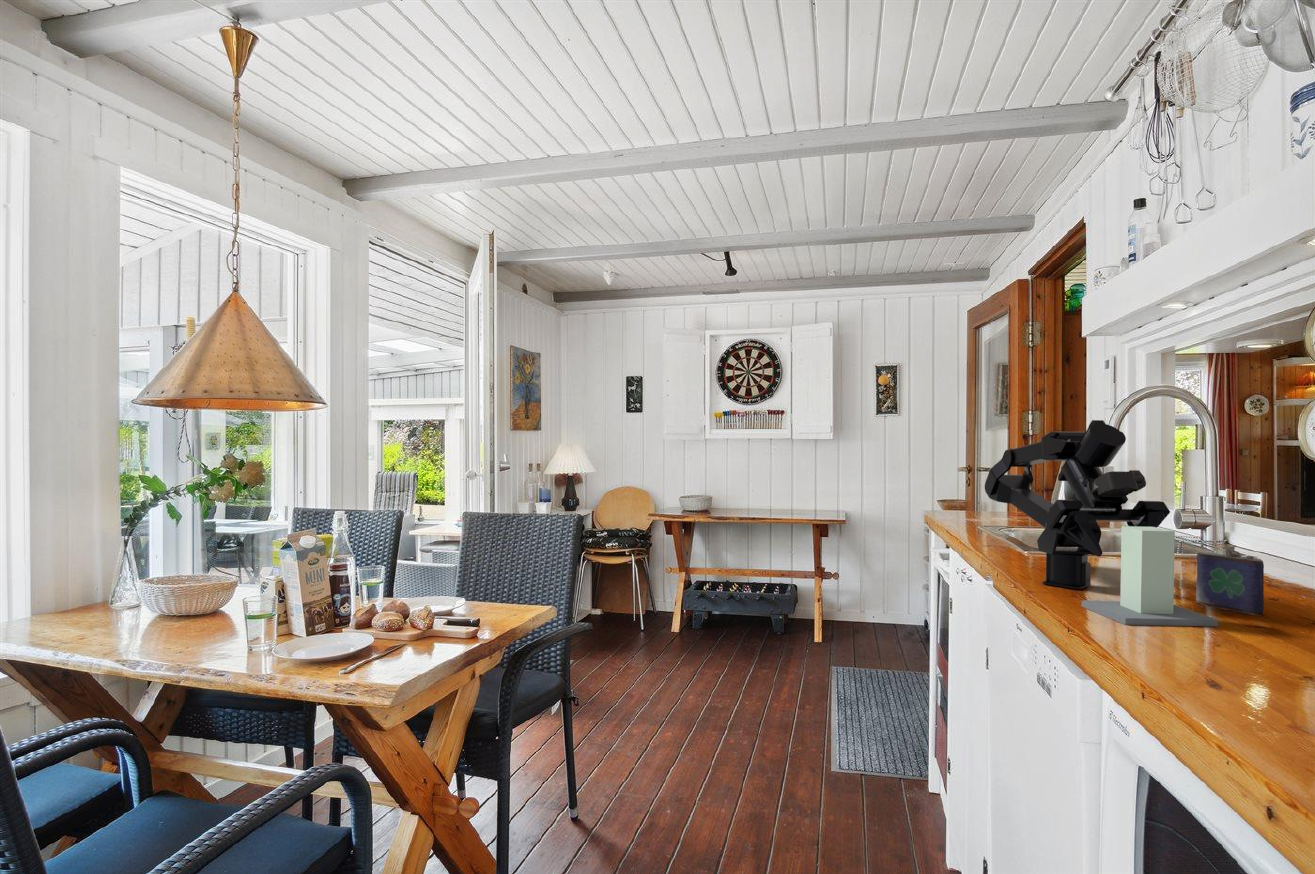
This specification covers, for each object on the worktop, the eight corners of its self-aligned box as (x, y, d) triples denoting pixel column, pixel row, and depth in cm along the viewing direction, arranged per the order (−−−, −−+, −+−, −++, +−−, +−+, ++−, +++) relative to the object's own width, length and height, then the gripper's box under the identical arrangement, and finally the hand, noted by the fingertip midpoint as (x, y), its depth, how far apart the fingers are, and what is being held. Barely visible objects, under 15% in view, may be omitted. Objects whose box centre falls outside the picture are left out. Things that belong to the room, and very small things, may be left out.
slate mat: (1081, 606, 116) (1081, 600, 116) (1165, 607, 116) (1165, 601, 116) (1125, 624, 105) (1125, 618, 105) (1218, 626, 105) (1218, 619, 105)
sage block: (1120, 605, 113) (1121, 526, 113) (1151, 605, 113) (1152, 526, 113) (1140, 613, 108) (1142, 530, 108) (1173, 613, 108) (1174, 531, 108)
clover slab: (1193, 603, 119) (1194, 541, 119) (1201, 601, 120) (1203, 540, 120) (1259, 616, 111) (1261, 550, 111) (1267, 614, 112) (1269, 549, 112)
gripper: (1055, 453, 120) (1093, 525, 109) (1163, 454, 120) (1212, 527, 109) (1030, 494, 128) (1064, 565, 117) (1132, 495, 128) (1174, 566, 117)
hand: (1128, 555), depth 115 cm, fingers open, 9 cm apart
